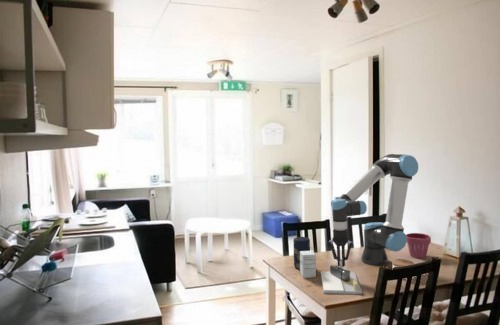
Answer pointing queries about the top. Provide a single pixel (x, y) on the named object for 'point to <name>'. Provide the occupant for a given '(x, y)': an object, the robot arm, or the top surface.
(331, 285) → the door board
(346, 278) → the arm
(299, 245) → the canister
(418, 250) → the plant pot
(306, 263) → the supplement box
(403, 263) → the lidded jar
